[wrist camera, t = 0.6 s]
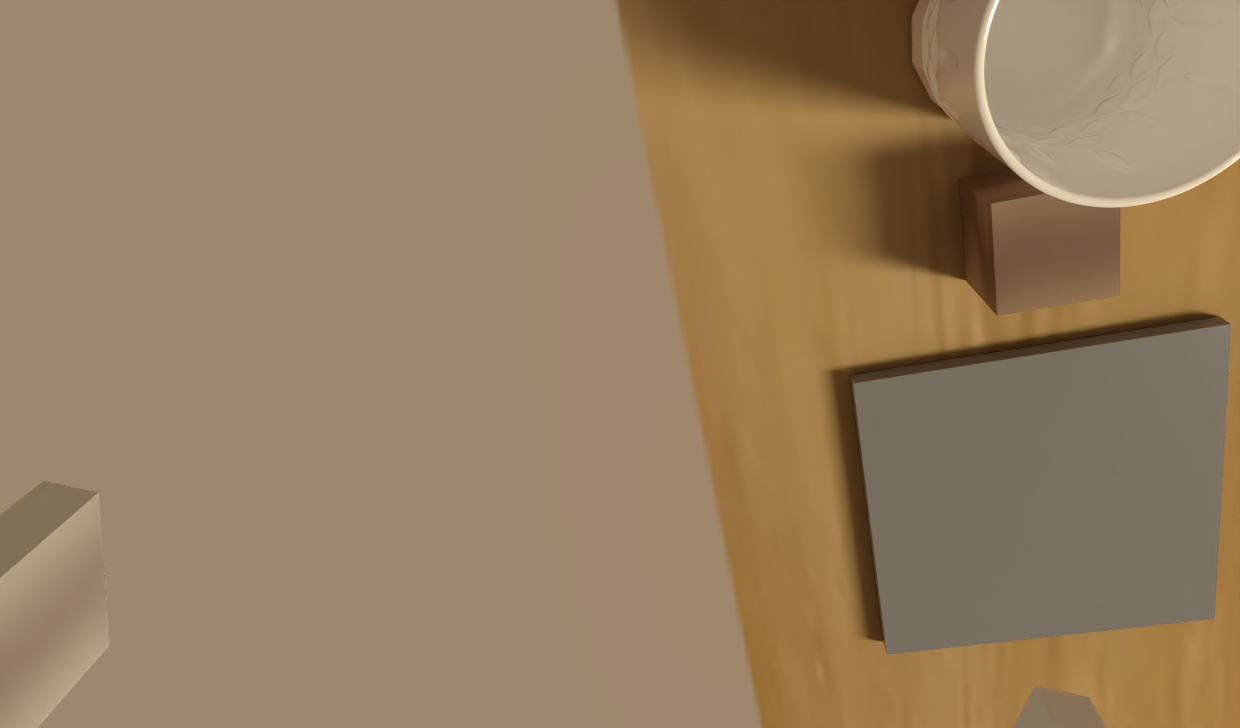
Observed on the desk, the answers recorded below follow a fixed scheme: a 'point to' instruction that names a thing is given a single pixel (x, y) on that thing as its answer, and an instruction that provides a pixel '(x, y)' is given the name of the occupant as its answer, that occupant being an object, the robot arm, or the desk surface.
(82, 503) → the robot arm
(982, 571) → the coaster
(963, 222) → the walnut block
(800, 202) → the desk surface
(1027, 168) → the white cup
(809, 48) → the desk surface
